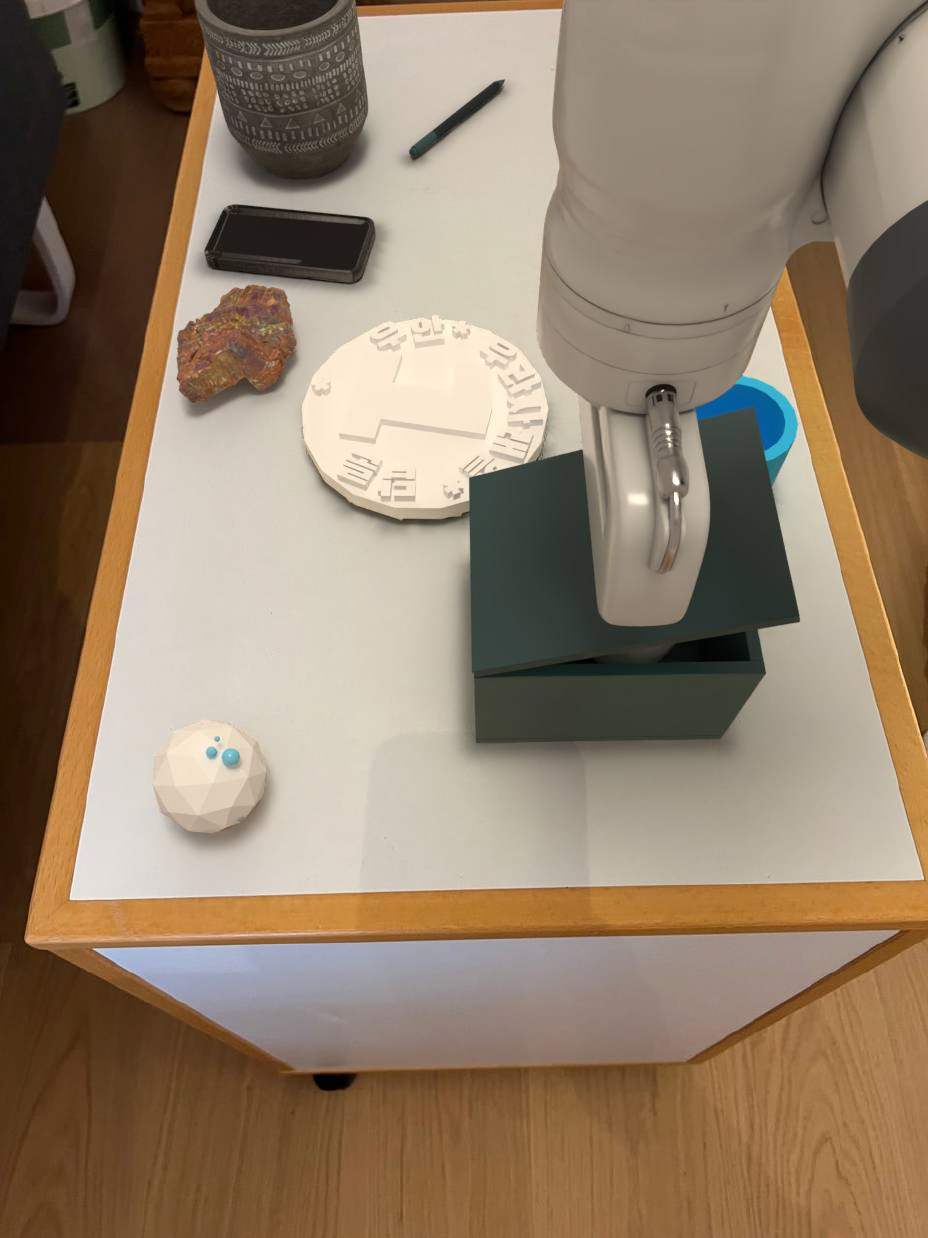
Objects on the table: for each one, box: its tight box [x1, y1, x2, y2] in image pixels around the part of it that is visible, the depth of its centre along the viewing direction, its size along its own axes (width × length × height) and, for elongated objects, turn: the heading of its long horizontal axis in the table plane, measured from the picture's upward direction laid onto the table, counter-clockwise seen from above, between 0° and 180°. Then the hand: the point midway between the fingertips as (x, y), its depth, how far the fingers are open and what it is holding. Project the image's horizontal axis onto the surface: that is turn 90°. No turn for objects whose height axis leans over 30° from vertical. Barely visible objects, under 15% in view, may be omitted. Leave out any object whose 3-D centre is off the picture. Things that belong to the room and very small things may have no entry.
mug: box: [695, 374, 799, 487], centre depth 66 cm, size 12×8×8 cm
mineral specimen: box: [175, 284, 297, 404], centre depth 73 cm, size 12×8×7 cm
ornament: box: [152, 718, 268, 834], centre depth 54 cm, size 7×7×8 cm
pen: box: [408, 78, 506, 158], centre depth 91 cm, size 1×16×1 cm, turn 142°
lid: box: [468, 407, 801, 677], centre depth 49 cm, size 18×14×1 cm
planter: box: [193, 0, 369, 181], centre depth 83 cm, size 14×14×15 cm
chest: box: [473, 629, 767, 744], centre depth 57 cm, size 17×14×11 cm
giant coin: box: [301, 314, 549, 522], centre depth 71 cm, size 20×20×3 cm
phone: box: [203, 203, 376, 283], centre depth 82 cm, size 8×1×15 cm
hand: (605, 506), depth 46 cm, fingers open, 8 cm apart
